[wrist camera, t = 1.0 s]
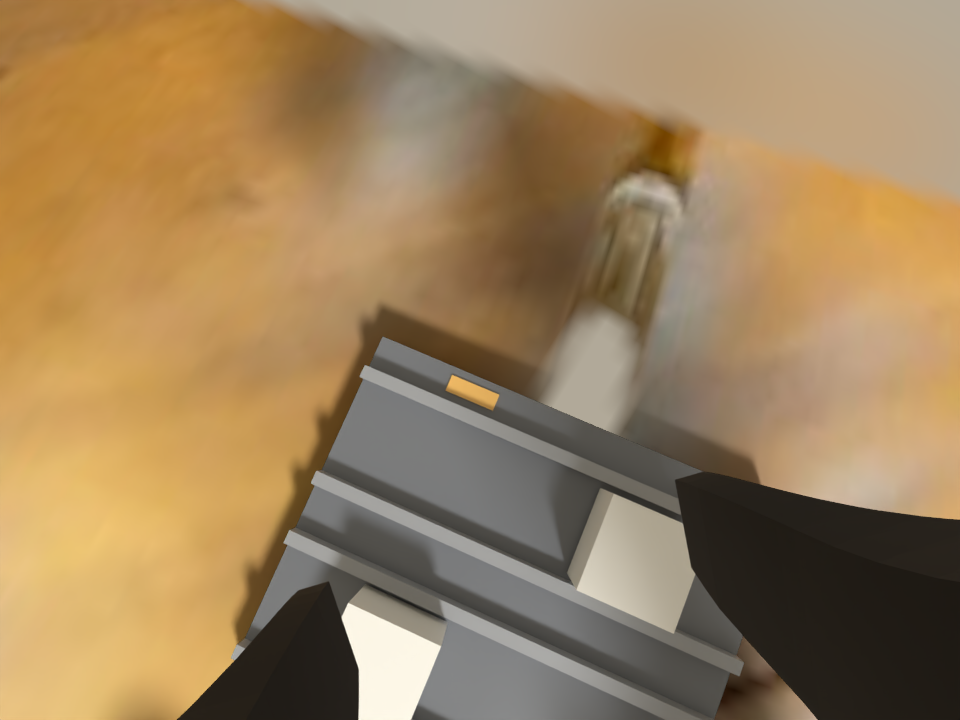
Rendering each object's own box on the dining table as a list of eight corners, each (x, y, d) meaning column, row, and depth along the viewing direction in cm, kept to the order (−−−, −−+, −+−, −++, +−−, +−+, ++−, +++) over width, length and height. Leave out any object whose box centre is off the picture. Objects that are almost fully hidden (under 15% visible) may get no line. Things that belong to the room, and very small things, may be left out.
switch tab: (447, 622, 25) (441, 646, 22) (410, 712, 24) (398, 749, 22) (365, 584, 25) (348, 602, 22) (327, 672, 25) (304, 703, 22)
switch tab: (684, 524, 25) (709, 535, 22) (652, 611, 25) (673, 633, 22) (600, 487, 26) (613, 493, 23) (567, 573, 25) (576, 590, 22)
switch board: (766, 502, 27) (797, 509, 25) (640, 862, 25) (657, 913, 23) (390, 343, 29) (379, 333, 26) (243, 669, 27) (214, 694, 24)
